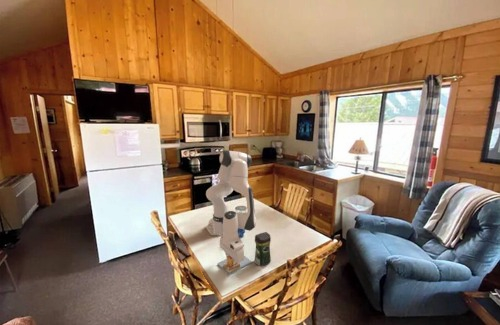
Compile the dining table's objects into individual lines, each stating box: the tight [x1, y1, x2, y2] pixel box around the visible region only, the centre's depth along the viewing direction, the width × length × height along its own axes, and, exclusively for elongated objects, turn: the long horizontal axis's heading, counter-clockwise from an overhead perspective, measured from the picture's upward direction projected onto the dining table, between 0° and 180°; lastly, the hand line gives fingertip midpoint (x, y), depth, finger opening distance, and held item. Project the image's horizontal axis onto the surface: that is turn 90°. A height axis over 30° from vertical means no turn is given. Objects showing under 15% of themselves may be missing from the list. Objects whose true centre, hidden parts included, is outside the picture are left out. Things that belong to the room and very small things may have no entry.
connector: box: [226, 256, 236, 268], centre depth 124 cm, size 4×4×7 cm
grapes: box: [238, 229, 246, 239], centre depth 153 cm, size 12×7×12 cm, turn 122°
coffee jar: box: [254, 231, 272, 267], centre depth 129 cm, size 10×8×19 cm
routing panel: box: [217, 255, 253, 276], centre depth 129 cm, size 12×17×1 cm
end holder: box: [223, 262, 240, 273], centre depth 124 cm, size 7×8×2 cm
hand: (231, 261), depth 124 cm, fingers open, 5 cm apart
